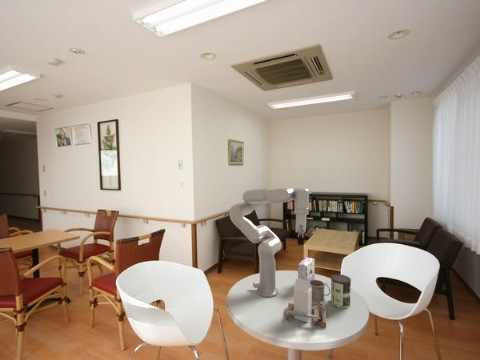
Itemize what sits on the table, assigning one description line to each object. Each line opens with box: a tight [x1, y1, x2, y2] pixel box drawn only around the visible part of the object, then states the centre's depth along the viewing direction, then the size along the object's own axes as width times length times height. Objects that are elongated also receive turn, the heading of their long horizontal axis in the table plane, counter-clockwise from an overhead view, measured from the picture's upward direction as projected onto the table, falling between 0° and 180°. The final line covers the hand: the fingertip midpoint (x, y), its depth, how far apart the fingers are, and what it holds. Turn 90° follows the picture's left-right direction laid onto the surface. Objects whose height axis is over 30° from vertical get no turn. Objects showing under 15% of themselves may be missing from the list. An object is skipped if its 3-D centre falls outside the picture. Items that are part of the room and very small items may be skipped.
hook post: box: [318, 302, 324, 321], centre depth 121 cm, size 2×4×8 cm, turn 163°
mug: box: [309, 279, 331, 305], centre depth 142 cm, size 14×10×12 cm
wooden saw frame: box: [285, 302, 327, 329], centre depth 128 cm, size 19×12×2 cm, turn 73°
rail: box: [287, 311, 321, 322], centre depth 123 cm, size 16×1×4 cm, turn 73°
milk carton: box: [293, 278, 313, 323], centre depth 128 cm, size 7×7×19 cm
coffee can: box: [330, 273, 352, 309], centre depth 141 cm, size 10×10×14 cm
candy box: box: [297, 256, 316, 281], centre depth 160 cm, size 14×6×16 cm, turn 144°
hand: (301, 241), depth 140 cm, fingers open, 9 cm apart
